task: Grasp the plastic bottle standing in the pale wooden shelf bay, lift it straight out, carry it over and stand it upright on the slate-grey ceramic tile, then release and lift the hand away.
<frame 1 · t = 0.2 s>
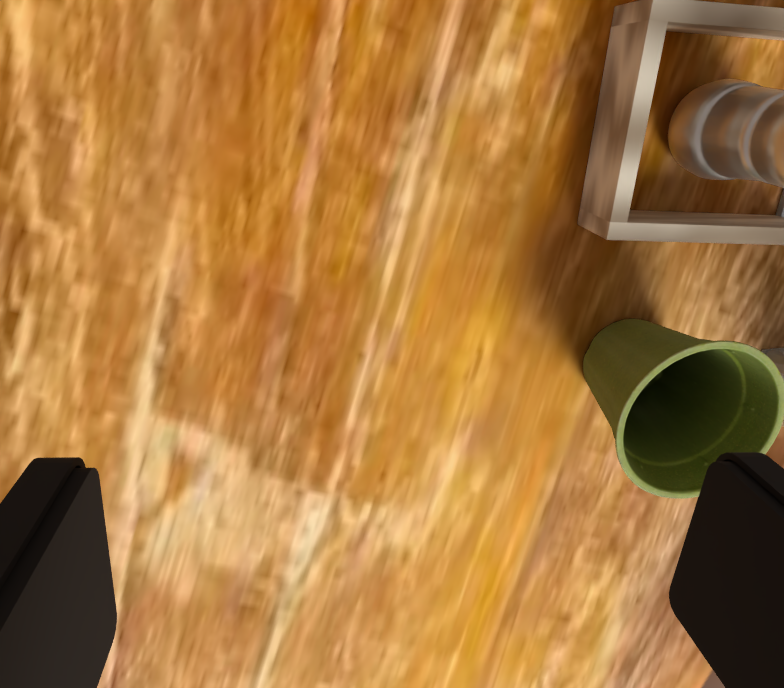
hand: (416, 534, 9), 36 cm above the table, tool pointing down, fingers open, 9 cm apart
shelf bay: (699, 128, 45), on the table
plant pot: (622, 355, 51), on the table
plastic bottle: (698, 127, 45), resting in shelf bay
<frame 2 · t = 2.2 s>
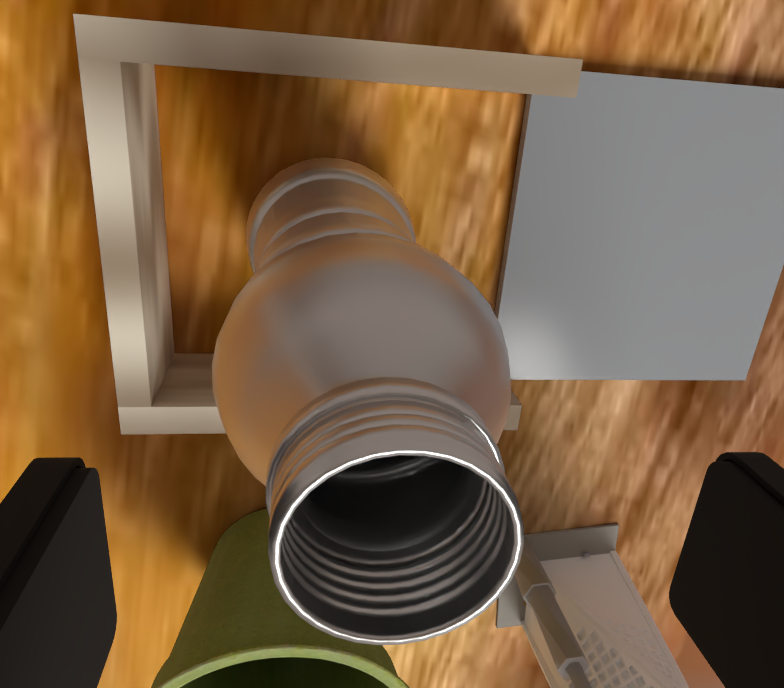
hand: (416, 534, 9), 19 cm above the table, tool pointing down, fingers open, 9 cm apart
skyscraper: (562, 576, 38), on the table
shelf bay: (329, 228, 27), on the table
tile: (647, 241, 29), on the table
plant pot: (281, 552, 34), on the table
plastic bottle: (329, 227, 27), resting in shelf bay
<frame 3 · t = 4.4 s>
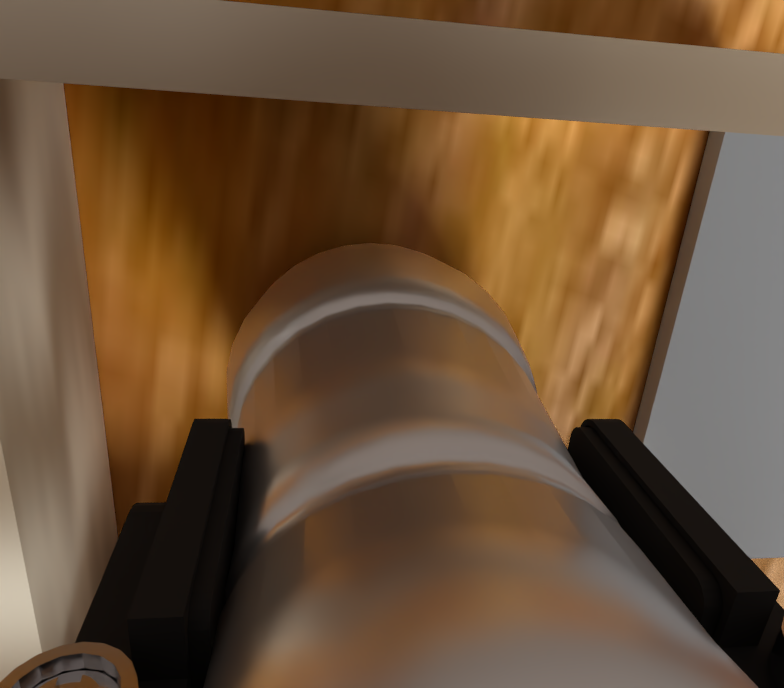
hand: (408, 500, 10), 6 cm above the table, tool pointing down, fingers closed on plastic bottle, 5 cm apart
shelf bay: (369, 346, 16), on the table
plastic bottle: (369, 343, 16), resting in shelf bay, touching gripper
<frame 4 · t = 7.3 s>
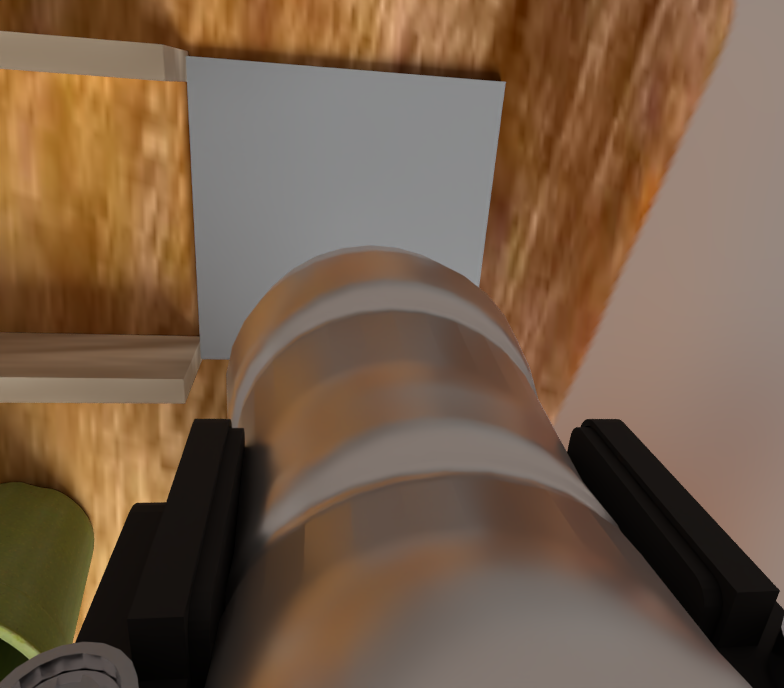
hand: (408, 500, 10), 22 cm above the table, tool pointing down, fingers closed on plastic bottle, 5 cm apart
shelf bay: (14, 210, 28), on the table
tile: (344, 225, 30), on the table
plant pot: (29, 528, 35), on the table
plastic bottle: (369, 345, 16), point 15 cm above the table, touching gripper
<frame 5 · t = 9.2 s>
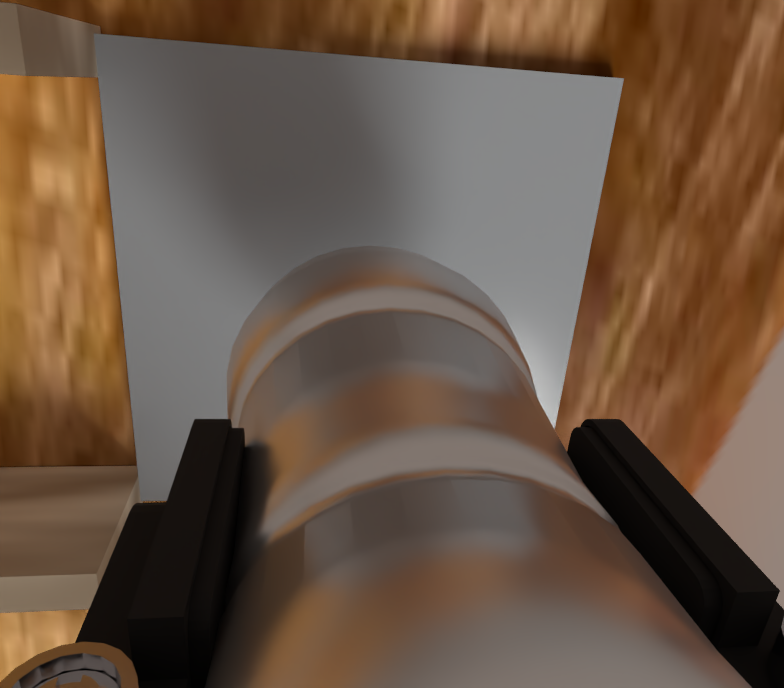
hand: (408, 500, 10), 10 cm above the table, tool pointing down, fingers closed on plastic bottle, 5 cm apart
tile: (359, 301, 19), on the table
plastic bottle: (369, 346, 16), point 3 cm above the table, touching gripper
when the fingers open (8 cm above the table, at t = 10.5 s): plastic bottle moves 1 cm, resting on tile.
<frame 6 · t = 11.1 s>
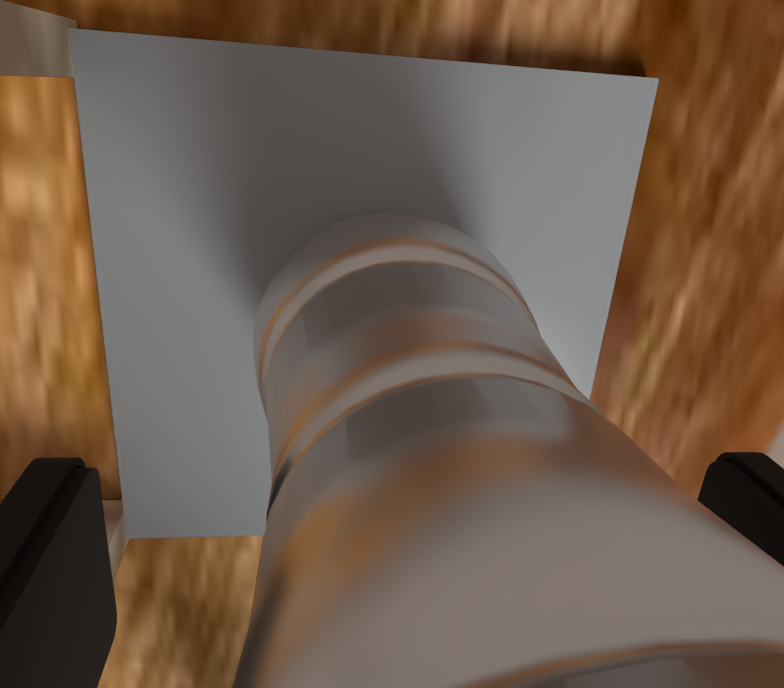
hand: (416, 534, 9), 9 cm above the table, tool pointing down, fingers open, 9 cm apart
tile: (365, 323, 18), on the table
plastic bottle: (382, 313, 17), resting on tile
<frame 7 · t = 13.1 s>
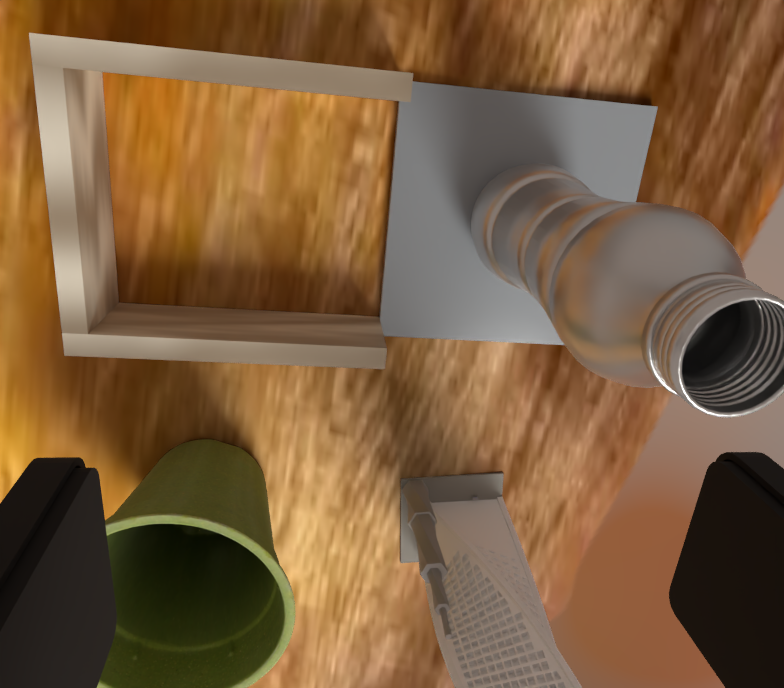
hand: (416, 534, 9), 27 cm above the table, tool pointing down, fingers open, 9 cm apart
skyscraper: (459, 519, 44), on the table
shelf bay: (242, 204, 34), on the table
tile: (508, 224, 36), on the table
plant pot: (210, 481, 40), on the table
plastic bottle: (519, 218, 35), resting on tile
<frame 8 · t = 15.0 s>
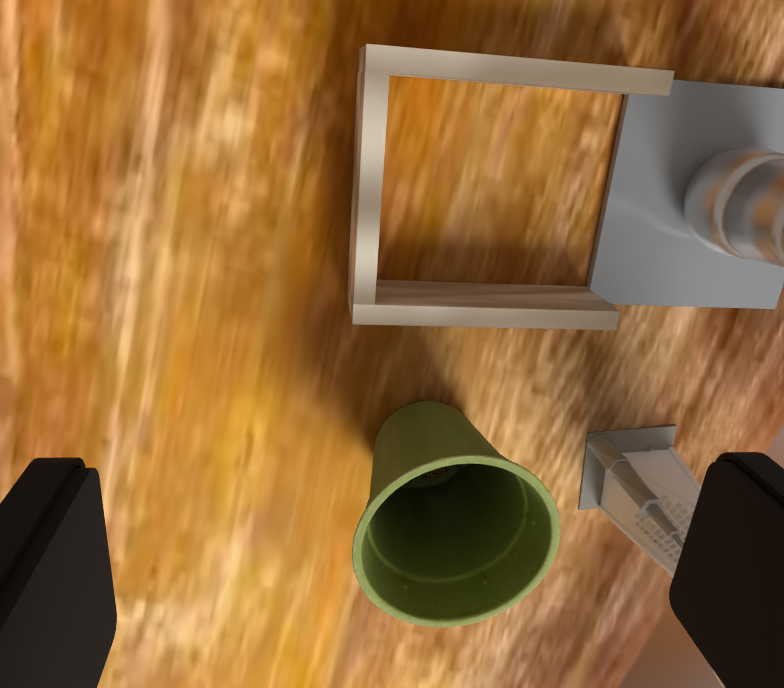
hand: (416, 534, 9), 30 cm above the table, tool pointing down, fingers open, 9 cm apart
skyscraper: (630, 469, 49), on the table
shelf bay: (482, 189, 38), on the table
tile: (705, 201, 40), on the table
plant pot: (423, 439, 45), on the table
plastic bottle: (717, 195, 40), resting on tile
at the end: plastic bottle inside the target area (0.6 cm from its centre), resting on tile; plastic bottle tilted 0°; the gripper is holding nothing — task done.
